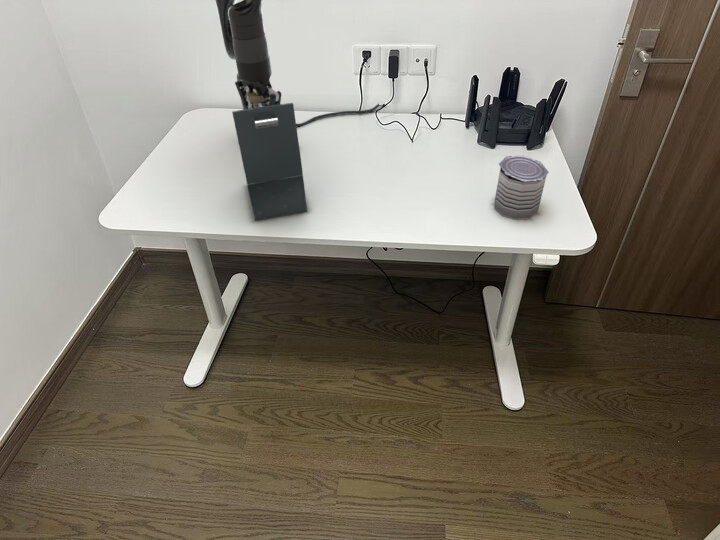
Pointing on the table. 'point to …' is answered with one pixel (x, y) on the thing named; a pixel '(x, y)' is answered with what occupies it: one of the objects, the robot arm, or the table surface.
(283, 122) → the bin lid
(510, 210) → the can
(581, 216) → the table surface
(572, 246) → the table surface
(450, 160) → the table surface
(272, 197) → the bin
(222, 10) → the robot arm
